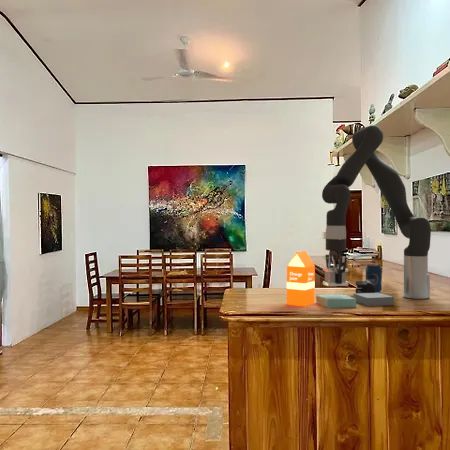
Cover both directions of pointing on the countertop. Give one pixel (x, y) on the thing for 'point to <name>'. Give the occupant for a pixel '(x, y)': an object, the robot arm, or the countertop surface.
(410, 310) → the countertop surface
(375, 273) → the soda can
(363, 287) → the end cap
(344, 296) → the stand
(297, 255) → the orange juice
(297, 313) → the countertop surface
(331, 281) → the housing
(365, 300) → the stand
